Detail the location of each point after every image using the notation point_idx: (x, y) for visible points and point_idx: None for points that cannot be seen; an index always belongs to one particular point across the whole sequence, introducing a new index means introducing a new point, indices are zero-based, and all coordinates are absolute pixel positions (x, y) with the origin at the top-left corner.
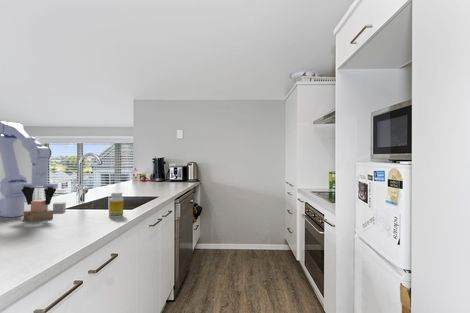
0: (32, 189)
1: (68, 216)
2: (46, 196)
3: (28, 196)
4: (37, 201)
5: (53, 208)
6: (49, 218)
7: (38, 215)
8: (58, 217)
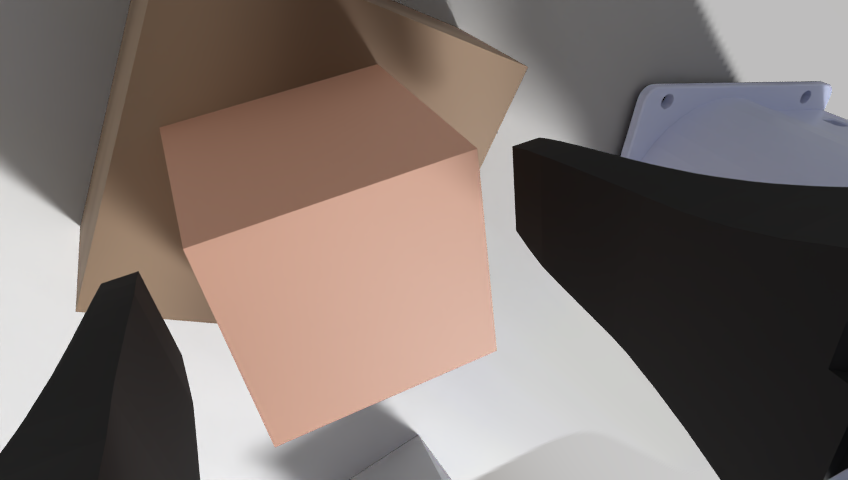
0: (766, 478)
1: (5, 416)
2: (71, 431)
3: (647, 226)
4: (308, 201)
5: (433, 477)
6: (91, 181)
7: (138, 22)
8: (84, 314)
